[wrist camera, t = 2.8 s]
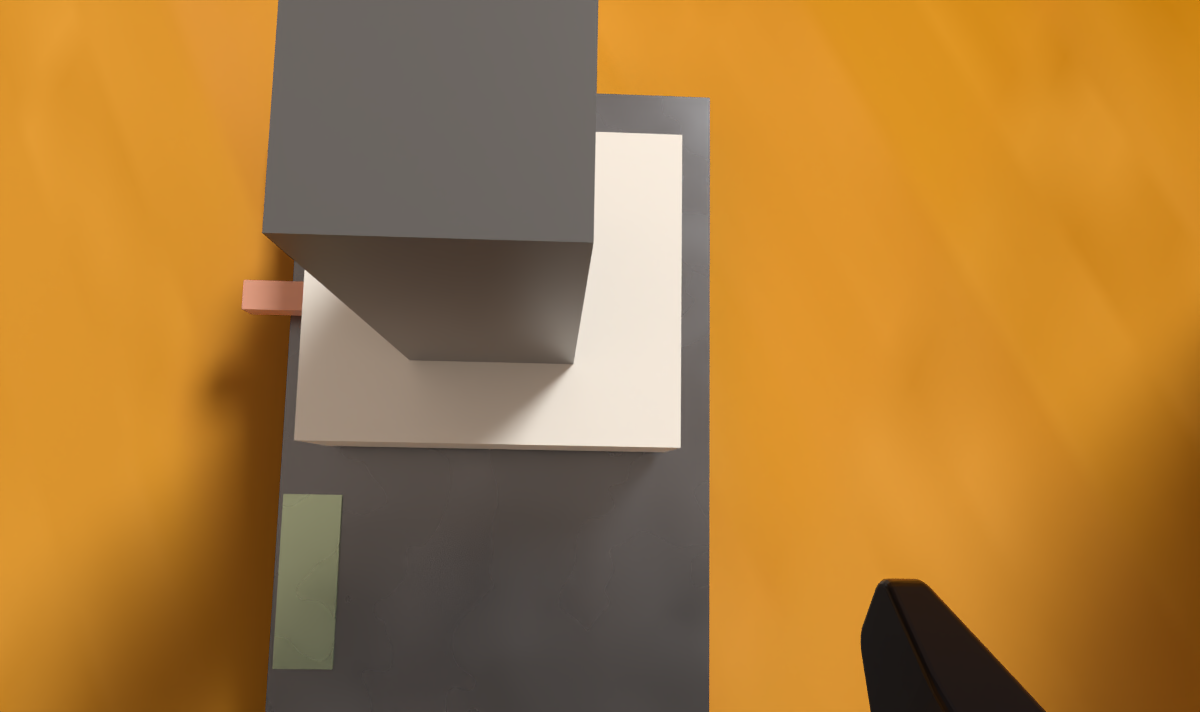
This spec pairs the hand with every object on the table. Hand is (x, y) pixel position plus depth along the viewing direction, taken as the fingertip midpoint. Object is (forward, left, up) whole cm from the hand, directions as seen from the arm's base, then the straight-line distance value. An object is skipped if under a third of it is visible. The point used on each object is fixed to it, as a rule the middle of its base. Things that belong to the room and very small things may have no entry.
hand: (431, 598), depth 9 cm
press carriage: (+3, +4, -10) cm, 11 cm away
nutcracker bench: (-1, -1, -12) cm, 12 cm away
